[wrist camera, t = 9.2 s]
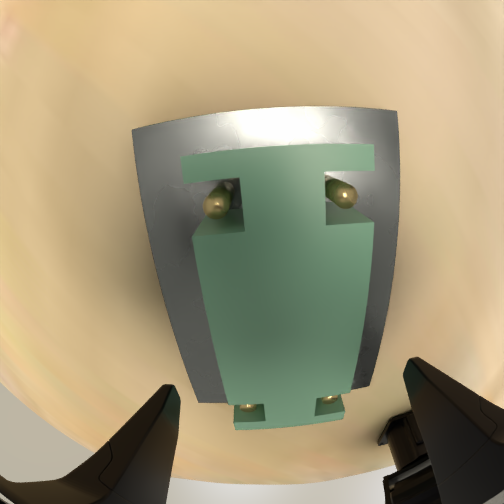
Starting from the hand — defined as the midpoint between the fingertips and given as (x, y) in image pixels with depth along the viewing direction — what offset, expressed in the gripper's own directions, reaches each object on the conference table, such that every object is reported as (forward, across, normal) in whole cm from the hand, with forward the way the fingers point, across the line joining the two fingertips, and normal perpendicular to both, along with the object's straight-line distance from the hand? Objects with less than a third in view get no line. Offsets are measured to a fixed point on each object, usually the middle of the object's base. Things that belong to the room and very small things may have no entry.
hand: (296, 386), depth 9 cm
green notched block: (+7, 0, 0) cm, 7 cm away
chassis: (+8, 0, 0) cm, 8 cm away
